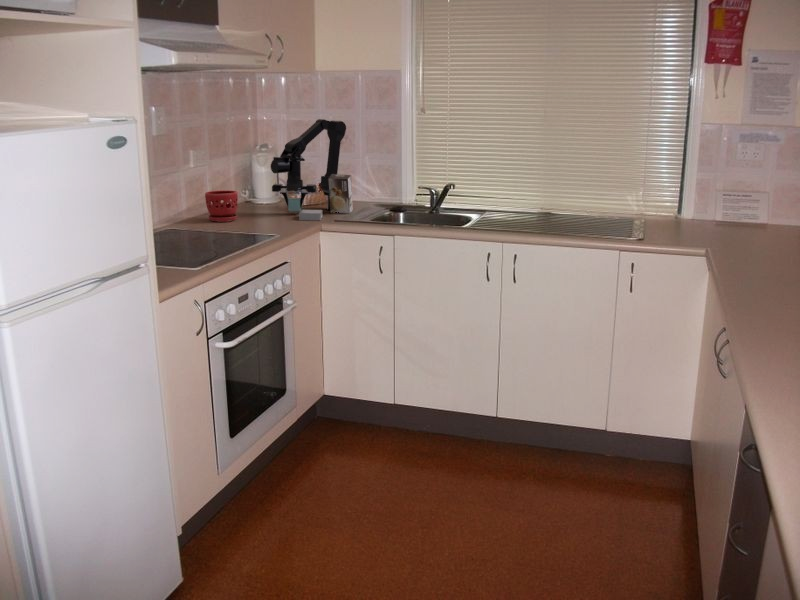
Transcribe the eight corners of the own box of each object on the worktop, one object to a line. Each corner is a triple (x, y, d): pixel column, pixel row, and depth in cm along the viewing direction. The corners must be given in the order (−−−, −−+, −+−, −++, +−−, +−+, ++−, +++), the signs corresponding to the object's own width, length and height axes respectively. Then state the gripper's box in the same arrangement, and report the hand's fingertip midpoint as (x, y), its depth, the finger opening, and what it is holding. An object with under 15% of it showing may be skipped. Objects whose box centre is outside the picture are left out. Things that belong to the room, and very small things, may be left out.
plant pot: (242, 218, 339) (241, 189, 336) (233, 223, 327) (232, 194, 323) (212, 217, 340) (211, 188, 337) (201, 222, 328) (200, 193, 325)
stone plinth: (301, 216, 346) (301, 209, 345) (322, 216, 346) (322, 210, 345) (299, 220, 337) (299, 213, 336) (320, 220, 337) (320, 213, 337)
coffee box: (353, 209, 361) (351, 174, 354) (350, 214, 355) (348, 179, 348) (333, 208, 362) (331, 173, 355) (329, 213, 356) (328, 178, 349)
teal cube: (289, 209, 353) (289, 197, 352) (301, 209, 353) (300, 198, 352) (288, 211, 348) (288, 199, 347) (299, 211, 348) (299, 199, 347)
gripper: (269, 173, 338) (270, 210, 343) (313, 174, 339) (314, 211, 343) (273, 170, 349) (274, 206, 353) (316, 171, 349) (316, 207, 353)
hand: (294, 207), depth 350 cm, fingers closed on teal cube, 5 cm apart
